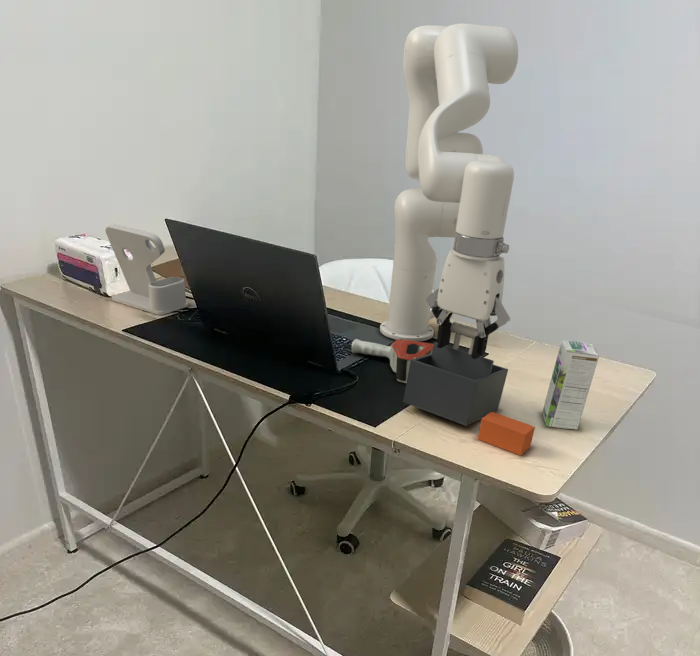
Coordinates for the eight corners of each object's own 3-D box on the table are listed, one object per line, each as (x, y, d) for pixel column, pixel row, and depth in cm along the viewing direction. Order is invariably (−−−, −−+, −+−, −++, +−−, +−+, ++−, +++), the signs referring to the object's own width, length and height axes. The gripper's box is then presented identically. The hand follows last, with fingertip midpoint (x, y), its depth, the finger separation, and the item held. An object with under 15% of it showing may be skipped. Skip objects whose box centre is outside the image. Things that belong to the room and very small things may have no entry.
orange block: (487, 431, 115) (491, 411, 113) (530, 447, 111) (535, 426, 109) (477, 439, 112) (481, 418, 110) (520, 455, 109) (525, 434, 106)
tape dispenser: (347, 356, 144) (374, 389, 127) (347, 332, 141) (375, 363, 124) (422, 349, 148) (459, 381, 131) (424, 326, 146) (461, 355, 129)
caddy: (437, 388, 129) (453, 313, 123) (497, 410, 123) (518, 331, 116) (402, 402, 119) (418, 320, 113) (466, 426, 113) (486, 341, 106)
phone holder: (191, 305, 161) (187, 229, 151) (161, 316, 153) (154, 235, 144) (140, 290, 168) (132, 216, 158) (108, 299, 160) (99, 222, 151)
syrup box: (541, 412, 123) (559, 338, 115) (573, 416, 123) (593, 342, 115) (545, 427, 118) (565, 350, 111) (579, 430, 118) (600, 354, 110)
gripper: (536, 253, 104) (514, 359, 114) (442, 232, 113) (428, 333, 122) (516, 260, 99) (494, 371, 108) (419, 238, 107) (406, 343, 117)
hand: (459, 350), depth 115 cm, fingers closed on caddy, 6 cm apart
